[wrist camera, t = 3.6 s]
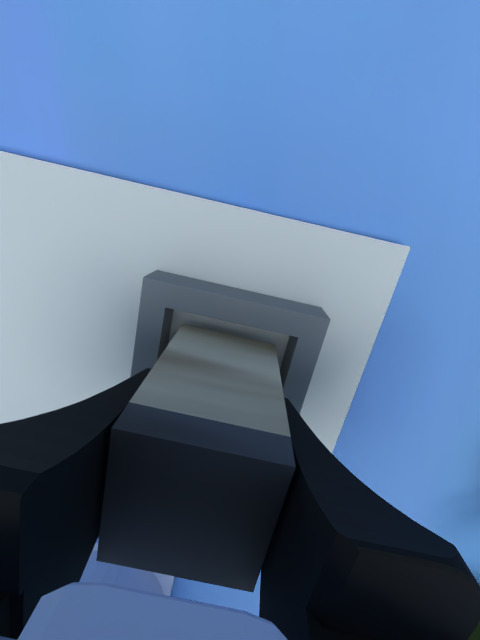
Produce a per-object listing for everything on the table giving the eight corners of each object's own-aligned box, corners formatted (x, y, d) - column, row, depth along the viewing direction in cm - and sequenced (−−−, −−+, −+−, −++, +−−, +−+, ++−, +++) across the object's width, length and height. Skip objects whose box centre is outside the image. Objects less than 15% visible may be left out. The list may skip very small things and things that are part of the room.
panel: (310, 487, 18) (319, 533, 16) (-199, 379, 18) (-279, 408, 15) (400, 245, 14) (434, 251, 11) (-267, 88, 13) (-395, 57, 11)
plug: (253, 423, 15) (252, 592, 8) (168, 404, 15) (96, 560, 8) (275, 344, 14) (296, 467, 7) (182, 323, 13) (111, 427, 7)
